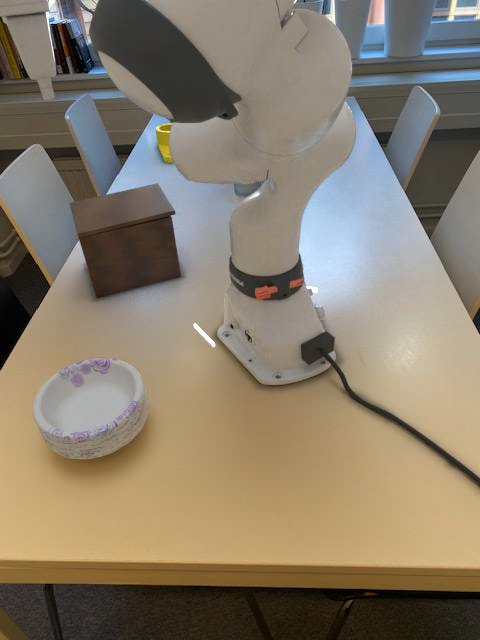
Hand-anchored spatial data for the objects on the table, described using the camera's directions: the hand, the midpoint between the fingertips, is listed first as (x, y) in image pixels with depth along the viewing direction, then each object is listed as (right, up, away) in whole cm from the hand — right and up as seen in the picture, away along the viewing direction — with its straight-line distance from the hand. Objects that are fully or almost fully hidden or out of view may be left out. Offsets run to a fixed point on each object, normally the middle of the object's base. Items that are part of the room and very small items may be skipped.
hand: (48, 97), depth 77 cm
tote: (+7, -24, +28) cm, 38 cm away
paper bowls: (+9, -51, -4) cm, 52 cm away
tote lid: (+7, -13, +20) cm, 25 cm away
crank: (+8, +19, +80) cm, 82 cm away
